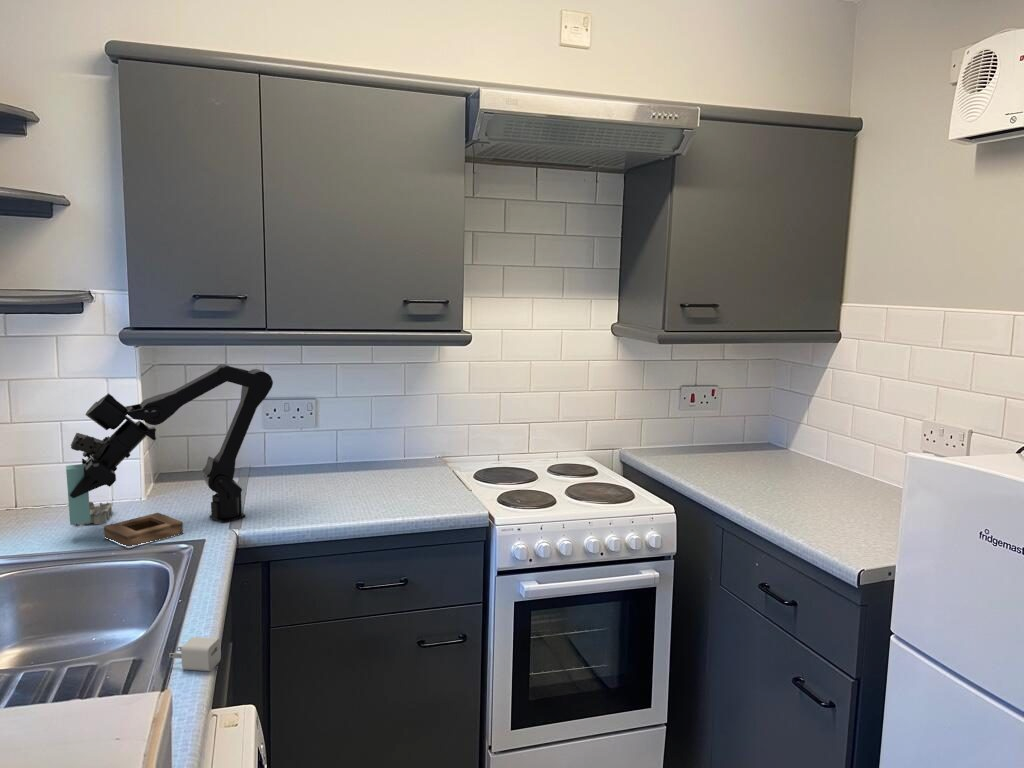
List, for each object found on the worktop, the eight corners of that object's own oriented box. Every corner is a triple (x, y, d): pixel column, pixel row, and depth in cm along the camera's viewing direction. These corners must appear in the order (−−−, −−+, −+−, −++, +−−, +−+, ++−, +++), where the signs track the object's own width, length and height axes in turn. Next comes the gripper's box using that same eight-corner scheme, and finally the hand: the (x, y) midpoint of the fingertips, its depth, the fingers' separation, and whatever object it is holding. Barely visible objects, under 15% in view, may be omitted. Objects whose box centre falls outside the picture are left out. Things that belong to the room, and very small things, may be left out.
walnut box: (158, 524, 181) (158, 512, 181) (183, 533, 175) (182, 521, 175) (104, 538, 171) (103, 526, 170) (128, 549, 165) (127, 536, 164)
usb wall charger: (208, 673, 115) (207, 649, 114) (166, 670, 115) (165, 646, 115) (221, 659, 119) (220, 636, 118) (180, 657, 119) (179, 634, 119)
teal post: (89, 517, 172) (85, 463, 170) (90, 522, 169) (86, 467, 167) (69, 520, 170) (65, 465, 168) (70, 525, 167) (66, 469, 165)
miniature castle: (84, 514, 189) (83, 499, 188) (116, 512, 190) (115, 497, 190) (70, 527, 178) (69, 511, 178) (105, 525, 180) (104, 509, 180)
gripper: (90, 414, 176) (39, 464, 172) (95, 428, 160) (39, 483, 156) (129, 442, 181) (81, 492, 177) (137, 458, 166) (84, 513, 161)
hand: (71, 494), depth 168 cm, fingers closed on teal post, 4 cm apart
